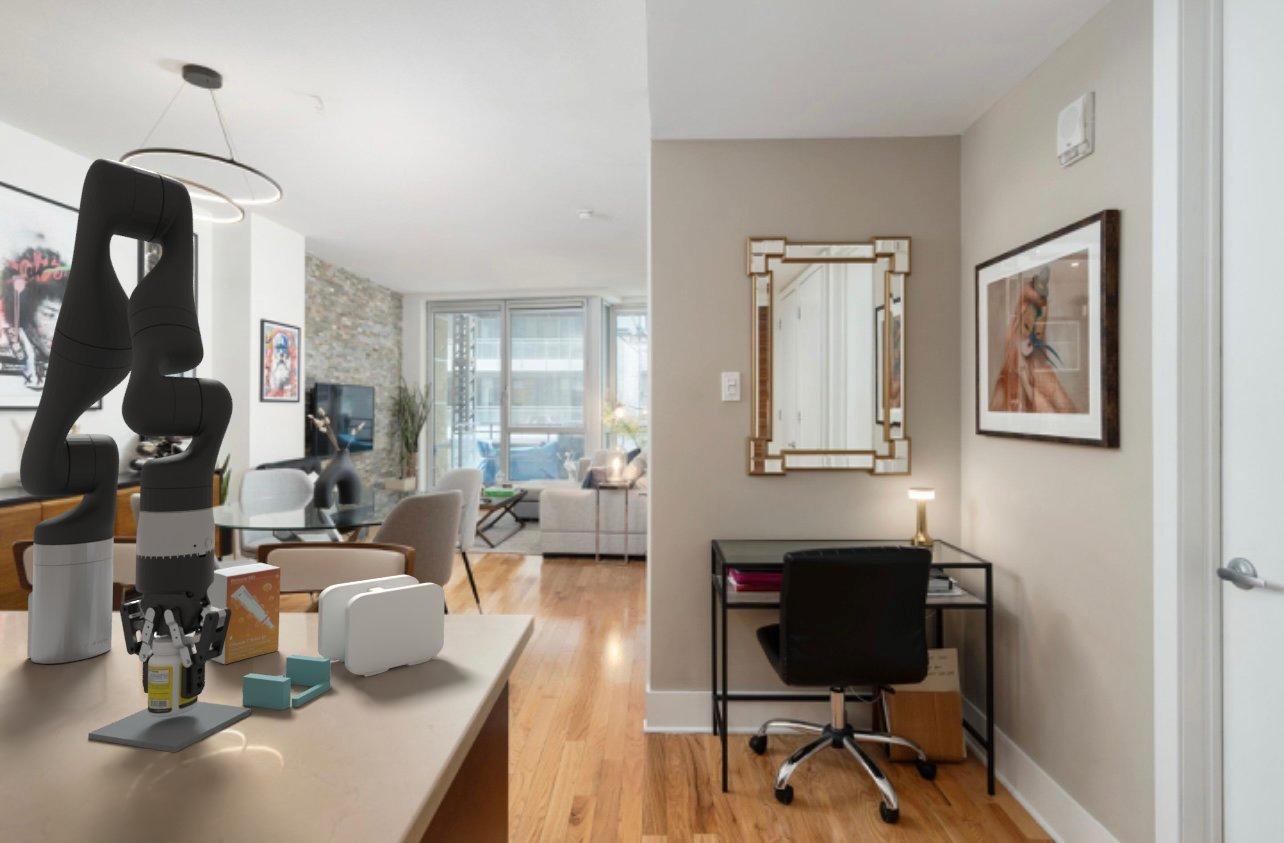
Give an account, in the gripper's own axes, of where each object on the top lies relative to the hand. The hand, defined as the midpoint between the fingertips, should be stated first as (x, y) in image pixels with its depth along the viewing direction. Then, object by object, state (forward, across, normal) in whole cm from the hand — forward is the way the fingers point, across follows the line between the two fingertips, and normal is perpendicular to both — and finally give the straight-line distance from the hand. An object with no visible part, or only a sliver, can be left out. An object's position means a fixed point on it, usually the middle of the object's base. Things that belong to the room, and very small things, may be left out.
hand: (173, 692), depth 77 cm
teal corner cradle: (+4, +6, +11) cm, 13 cm away
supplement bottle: (+2, 0, 0) cm, 2 cm away
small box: (+4, -12, +22) cm, 25 cm away
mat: (+4, 0, 0) cm, 4 cm away
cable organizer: (+4, +10, +25) cm, 27 cm away
